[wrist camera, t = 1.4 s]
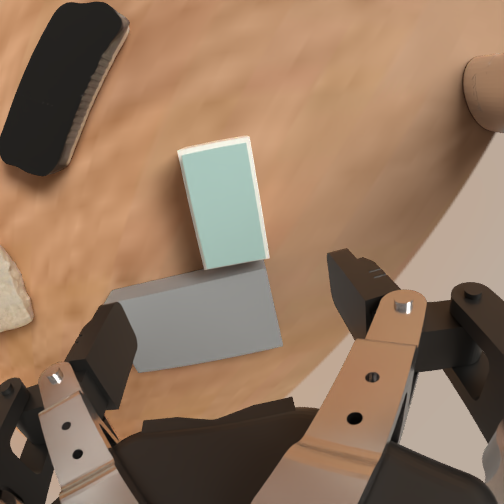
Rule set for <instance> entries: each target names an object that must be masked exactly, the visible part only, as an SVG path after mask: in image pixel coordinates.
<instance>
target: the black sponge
mask: <svg viewBox="0 0 504 504" xmlns="http://www.w3.org/2000/svg"><path fill="white" fill-rule="evenodd" d="M129 24H130V22H129V20H128V19H127V18H126V17H125V16H123V15H121V14H120V13H118V12H117V11H116V10H114V9H113V8H112V7H111V6H109V5H108V4H106V3H104V2H91V3H74V2H69V3H65V4H63V5H62V6H60V7H59V8H58V9H57V10H56V12H55V13H54V15H53V16H52V18H51V20H50V21H49V23H48V25H47V27H46V29H45V30H44V32H43V34H42V36H41V38H40V40H39V42H38V44H37V46H36V48H35V50H34V52H33V54H32V56H31V59H30V61H29V63H28V65H27V67H26V70H25V72H24V74H23V77H22V79H21V82H20V84H19V87H18V89H17V92H16V94H15V97H14V100H13V102H12V105H11V108H10V111H9V114H8V117H7V120H6V122H5V125H4V128H3V131H2V133H1V136H0V156H1V158H2V160H3V161H4V162H5V163H6V164H9V165H13V166H16V167H18V168H20V169H22V170H24V171H25V172H27V173H30V174H34V175H38V176H46V175H48V174H53V173H55V172H57V171H60V170H62V169H64V168H65V167H66V166H67V165H68V164H69V163H70V161H71V157H72V155H73V153H74V150H75V147H76V144H77V142H78V139H79V137H80V135H81V132H82V129H83V127H84V125H85V122H86V119H87V117H88V114H89V111H90V110H91V107H92V105H93V103H94V100H95V98H96V96H97V94H98V92H99V90H100V88H101V86H102V83H103V82H104V79H105V77H106V76H107V73H108V71H109V69H110V67H111V65H112V64H113V62H114V59H115V57H116V55H117V54H118V52H119V50H120V48H121V47H122V45H123V43H124V41H125V39H126V38H127V35H128V33H129Z"/></svg>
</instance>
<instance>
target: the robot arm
mask: <svg viewBox="0 0 504 504" xmlns="http://www.w3.org/2000/svg"><path fill="white" fill-rule="evenodd" d="M463 86H464V94H465V98H466V102H467V105H468V107H469V110H470V112H471V114H472V115H473V117H474V118H475V120H476V121H477V122H478V123H479V124H480V125H481V126H482V127H483V128H485V129H487V130H489V131H493V132H500V133H504V53H499V54H491V55H484V56H478V57H475V58H473V59H471V61H470V62H469V63H468V64H467V67H466V69H465V73H464V81H463ZM327 263H328V271H329V278H330V286H331V293H332V298H333V301H334V304H335V306H336V308H337V310H338V312H339V313H340V315H341V317H342V318H343V320H344V322H345V324H346V326H347V327H348V329H349V331H350V333H351V334H352V336H353V338H354V340H355V342H354V344H353V346H352V348H351V350H350V352H349V354H348V356H347V358H346V361H345V362H344V364H343V367H342V368H341V370H340V372H339V374H338V376H337V378H336V380H335V382H334V383H333V385H332V387H331V389H330V391H329V393H328V395H327V396H326V399H325V400H324V402H323V404H322V406H321V407H320V409H317V408H308V407H295V406H294V402H293V398H292V397H289V398H284V399H280V400H276V401H271V402H266V403H262V404H257V405H253V406H250V407H248V408H245V409H243V410H240V411H237V412H235V413H232V414H229V415H227V416H224V417H221V418H219V419H215V420H206V419H192V418H180V417H174V418H165V419H155V420H144V422H143V427H142V432H138V433H136V434H133V435H131V436H129V437H127V438H125V439H123V440H122V441H121V439H120V438H119V436H118V435H117V433H116V431H115V430H114V428H113V426H112V425H111V423H110V421H109V420H108V418H107V417H106V416H105V414H104V413H105V410H116V409H119V406H120V403H121V399H122V396H123V393H124V389H125V386H126V383H127V380H128V376H129V373H130V370H131V367H132V364H133V361H134V357H135V354H136V351H137V338H136V335H135V333H134V331H133V328H132V326H131V324H130V322H129V320H128V318H127V316H126V313H125V311H124V309H123V307H122V305H121V304H120V303H119V302H113V303H109V304H104V305H100V306H99V308H98V310H97V311H96V313H95V315H94V316H93V318H92V320H91V321H90V322H89V323H88V324H86V325H85V326H84V327H83V329H82V331H81V333H80V334H79V337H78V338H77V339H76V341H75V344H74V345H73V346H72V348H71V350H70V352H69V354H68V355H67V357H66V359H65V361H64V362H58V363H55V364H53V365H51V366H49V367H48V368H47V369H45V370H44V371H43V373H42V374H41V375H40V377H39V380H38V384H37V385H34V386H31V387H28V388H26V387H25V385H24V384H23V382H22V381H21V380H20V379H19V378H11V379H8V380H6V381H5V382H3V383H2V384H1V385H0V504H45V501H46V498H47V493H48V489H49V485H50V482H51V478H52V474H53V470H55V473H56V475H57V478H58V481H59V484H60V486H61V492H60V494H59V497H58V498H57V499H56V500H55V501H54V502H53V503H52V504H504V301H503V300H502V299H501V298H500V297H499V296H497V295H496V294H495V293H494V292H493V291H492V290H490V289H489V288H488V287H487V286H485V285H482V284H479V283H475V282H467V283H461V284H459V285H457V286H455V287H454V288H453V290H452V292H451V300H447V301H439V302H427V301H426V299H425V297H424V296H423V295H422V294H420V293H418V292H416V291H412V290H401V289H400V288H399V287H398V286H397V285H396V284H395V283H394V282H393V281H392V279H391V278H390V277H389V276H388V275H386V273H385V272H384V271H383V270H382V269H380V267H379V266H378V265H377V264H376V263H375V262H373V261H371V260H368V259H366V258H359V259H357V258H356V257H355V256H354V255H353V254H352V253H351V252H350V251H349V250H348V249H347V248H346V249H342V250H338V251H334V252H330V253H327ZM439 369H443V371H444V372H445V374H446V375H447V376H448V378H449V379H450V381H451V383H452V384H453V386H454V388H455V389H456V391H457V392H458V394H459V396H460V397H461V399H462V400H463V402H464V403H465V405H466V407H467V409H468V410H469V412H470V414H471V415H472V417H473V419H474V420H475V422H476V424H477V425H478V427H479V429H480V431H481V432H482V434H483V436H484V437H485V439H486V441H487V443H488V445H487V447H486V448H485V451H484V453H483V457H482V463H483V467H484V471H485V476H486V477H485V483H484V482H483V481H481V480H480V479H478V478H477V477H475V476H473V475H471V474H469V473H466V472H463V471H461V470H458V469H456V468H453V467H450V466H448V465H445V464H443V463H440V462H438V461H436V460H433V459H431V458H428V457H426V456H424V455H421V454H419V453H417V452H415V451H412V450H410V449H408V448H406V447H404V446H402V445H399V443H400V440H401V436H402V433H403V430H404V426H405V422H406V418H407V415H408V412H409V408H410V405H411V401H412V398H413V394H414V390H415V387H416V383H417V379H418V375H419V372H424V371H432V370H439ZM16 426H17V427H18V429H19V430H20V431H21V432H22V433H23V434H24V435H25V436H26V437H27V441H26V444H25V446H24V449H23V452H22V454H21V457H20V459H19V458H18V457H17V456H16V455H15V454H14V453H13V452H12V450H11V447H10V439H11V437H12V434H13V432H14V430H15V428H16Z"/></svg>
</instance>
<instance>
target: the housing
mask: <svg viewBox="0 0 504 504" xmlns="http://www.w3.org/2000/svg"><path fill="white" fill-rule="evenodd" d="M177 152H178V156H179V161H180V166H181V171H182V175H183V180H184V185H185V189H186V194H187V198H188V203H189V207H190V212H191V216H192V220H193V225H194V229H195V233H196V237H197V241H198V246H199V250H200V254H201V258H202V262H203V266H204V270H208V269H214V268H219V267H224V266H230V265H235V264H241V263H246V262H252V261H257V260H262V259H268V258H270V257H269V251H268V244H267V238H266V232H265V226H264V220H263V214H262V208H261V202H260V196H259V190H258V184H257V178H256V172H255V166H254V161H253V155H252V149H251V143H250V138H249V136H247V135H245V136H239V137H234V138H228V139H223V140H218V141H213V142H208V143H203V144H198V145H193V146H189V147H184V148H182V149H180V150H178V151H177Z"/></svg>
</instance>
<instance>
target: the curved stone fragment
mask: <svg viewBox="0 0 504 504" xmlns="http://www.w3.org/2000/svg"><path fill="white" fill-rule="evenodd" d="M33 318H34V312H33V308H32V304H31V300H30V297H29V296H28V294H27V291H26V289H25V287H24V282H23V278H22V274H21V272H20V271H19V269H18V268H17V266H16V263H15V262H14V261H12V259H11V257H10V256H9V254H8V253H7V252H6V250H5V249H4V248H3V247H2V246H1V245H0V332H3V331H7V330H11V329H15V328H19V327H22V326H24V325H26V324H28V323H30V322H31V321H32V320H33Z"/></svg>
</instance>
